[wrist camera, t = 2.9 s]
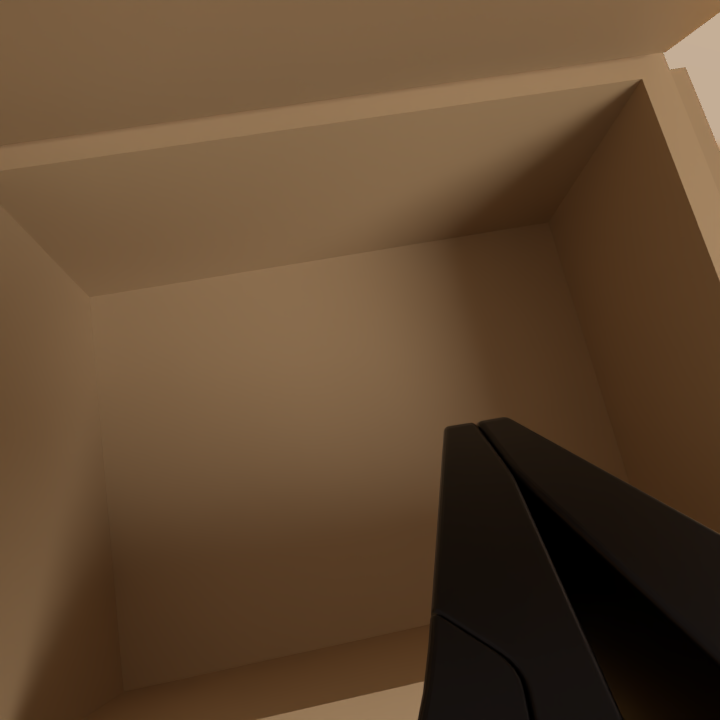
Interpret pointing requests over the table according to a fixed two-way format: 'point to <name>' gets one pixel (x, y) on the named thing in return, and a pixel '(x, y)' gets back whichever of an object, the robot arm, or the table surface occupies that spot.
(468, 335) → the shipping carton
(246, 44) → the carton flap
